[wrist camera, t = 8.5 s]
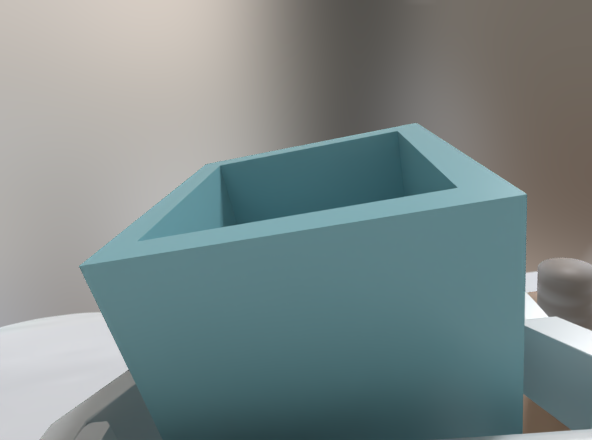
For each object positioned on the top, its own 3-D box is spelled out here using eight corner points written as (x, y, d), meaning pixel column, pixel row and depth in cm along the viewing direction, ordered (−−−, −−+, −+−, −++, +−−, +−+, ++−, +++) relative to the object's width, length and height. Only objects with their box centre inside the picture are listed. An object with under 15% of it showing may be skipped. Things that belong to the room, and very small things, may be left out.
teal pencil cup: (252, 625, 9) (78, 266, 5) (281, 411, 14) (206, 164, 11) (519, 628, 8) (526, 193, 4) (441, 398, 14) (416, 122, 10)
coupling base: (473, 538, 19) (463, 405, 16) (406, 321, 36) (394, 233, 33) (895, 524, 17) (991, 359, 13) (612, 295, 33) (622, 196, 30)
